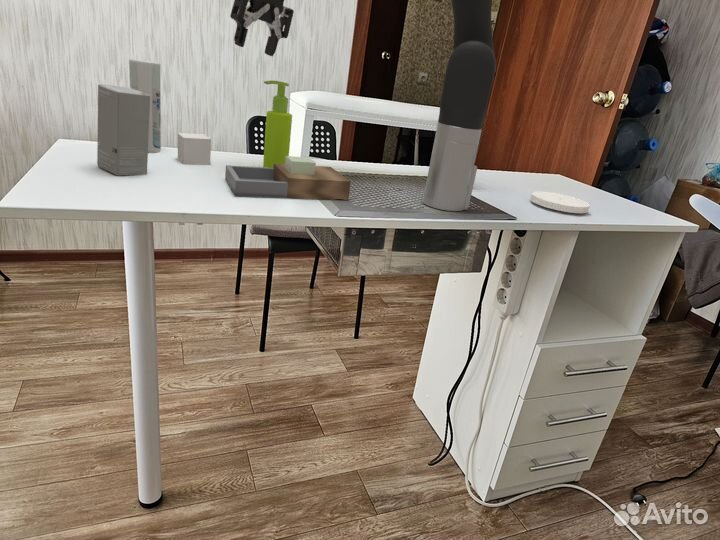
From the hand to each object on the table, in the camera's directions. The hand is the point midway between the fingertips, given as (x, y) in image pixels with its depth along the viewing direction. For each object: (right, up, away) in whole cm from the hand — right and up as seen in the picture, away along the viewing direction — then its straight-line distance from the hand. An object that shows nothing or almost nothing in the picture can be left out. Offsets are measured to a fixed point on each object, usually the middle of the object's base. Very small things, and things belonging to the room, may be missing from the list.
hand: (254, 50), depth 107 cm
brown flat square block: (+12, -30, -1) cm, 32 cm away
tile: (+10, -26, -3) cm, 28 cm away
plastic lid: (+72, -32, +19) cm, 81 cm away
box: (+1, -30, -5) cm, 31 cm away
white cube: (-16, -22, +10) cm, 29 cm away
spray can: (-29, -18, +14) cm, 37 cm away
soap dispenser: (+2, -23, +14) cm, 27 cm away
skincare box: (-25, -27, -7) cm, 37 cm away
